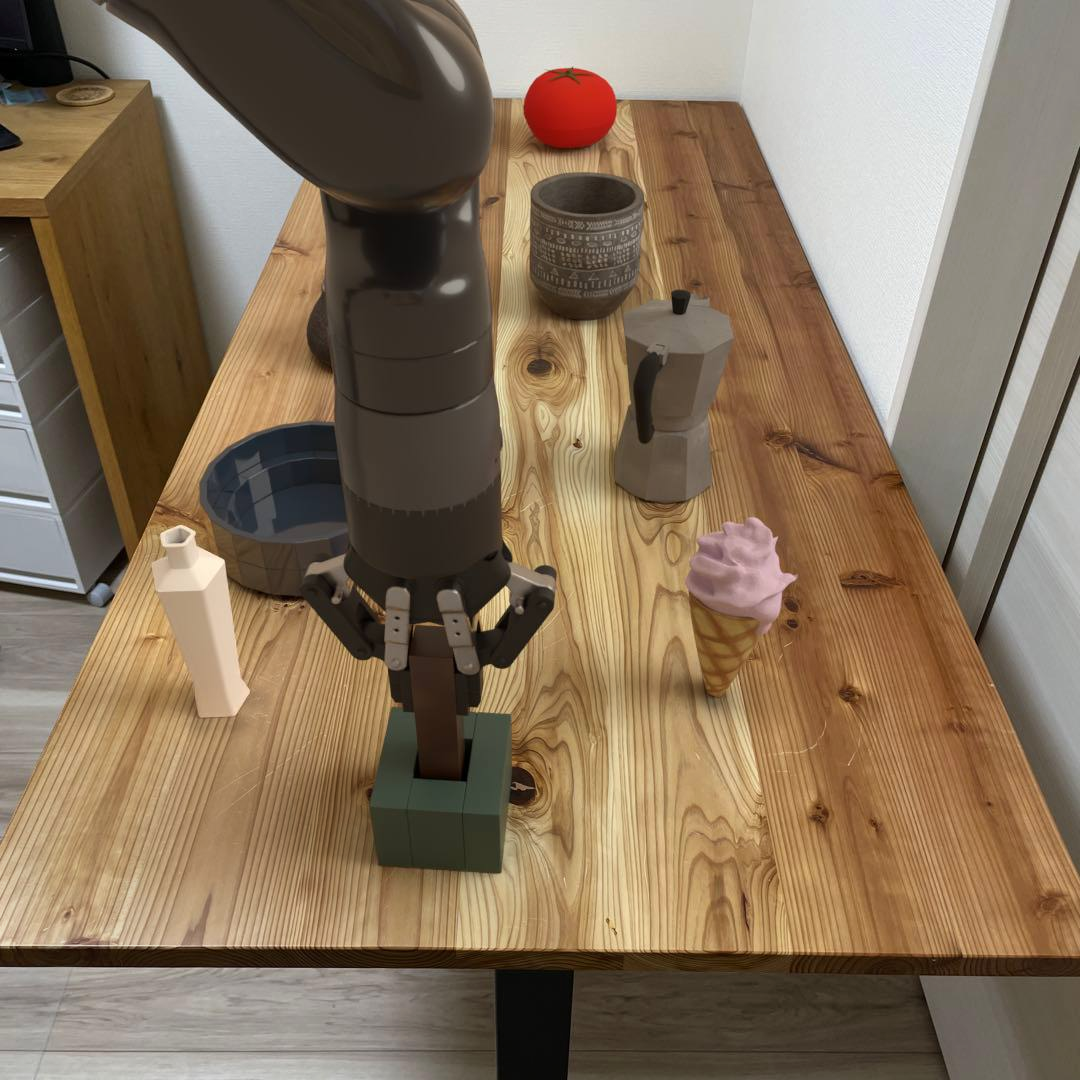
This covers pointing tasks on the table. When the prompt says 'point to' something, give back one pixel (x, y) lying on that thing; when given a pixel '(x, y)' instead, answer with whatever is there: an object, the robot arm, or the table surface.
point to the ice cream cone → (733, 597)
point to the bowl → (276, 505)
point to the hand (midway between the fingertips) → (439, 701)
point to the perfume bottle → (201, 621)
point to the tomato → (570, 108)
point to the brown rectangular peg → (436, 706)
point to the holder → (443, 799)
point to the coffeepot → (671, 396)
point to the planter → (585, 242)
